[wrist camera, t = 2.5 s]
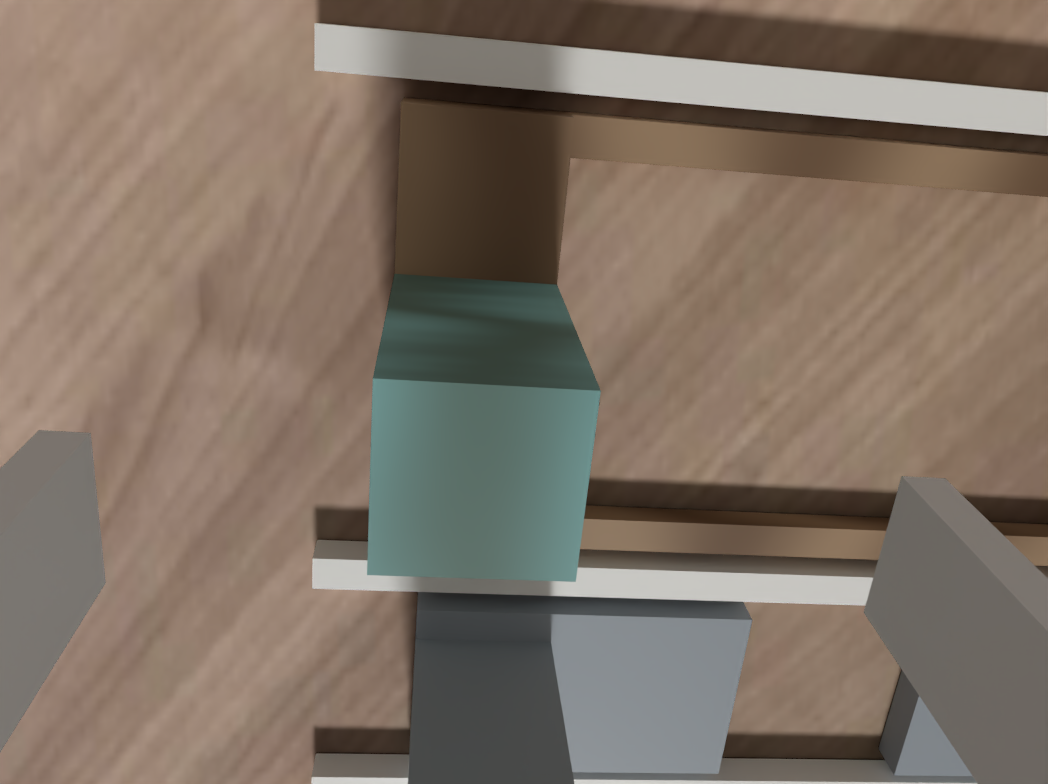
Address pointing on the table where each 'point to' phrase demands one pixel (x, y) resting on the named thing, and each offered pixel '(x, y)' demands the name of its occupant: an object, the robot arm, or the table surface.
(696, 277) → the table surface
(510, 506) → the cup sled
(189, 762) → the table surface
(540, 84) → the lane frame
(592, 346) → the table surface
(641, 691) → the grey l-shaped sled
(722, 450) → the table surface
